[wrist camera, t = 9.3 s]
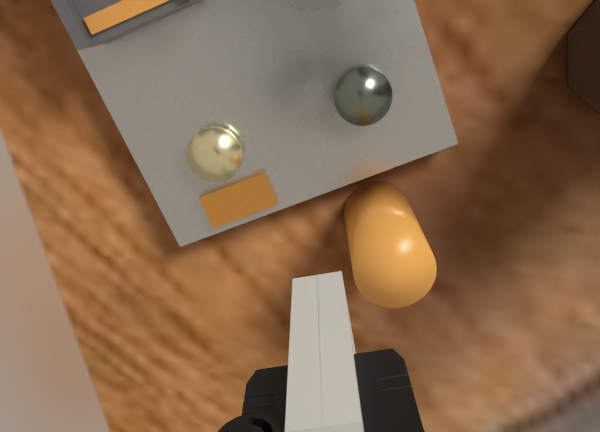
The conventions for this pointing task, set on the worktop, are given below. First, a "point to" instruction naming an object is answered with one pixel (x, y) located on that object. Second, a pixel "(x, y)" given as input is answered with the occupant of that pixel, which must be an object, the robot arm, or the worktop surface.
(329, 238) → the worktop surface
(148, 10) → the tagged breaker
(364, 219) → the cap
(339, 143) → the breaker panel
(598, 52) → the beer bottle
